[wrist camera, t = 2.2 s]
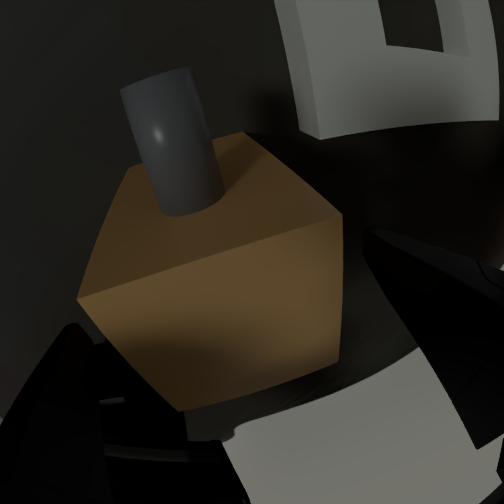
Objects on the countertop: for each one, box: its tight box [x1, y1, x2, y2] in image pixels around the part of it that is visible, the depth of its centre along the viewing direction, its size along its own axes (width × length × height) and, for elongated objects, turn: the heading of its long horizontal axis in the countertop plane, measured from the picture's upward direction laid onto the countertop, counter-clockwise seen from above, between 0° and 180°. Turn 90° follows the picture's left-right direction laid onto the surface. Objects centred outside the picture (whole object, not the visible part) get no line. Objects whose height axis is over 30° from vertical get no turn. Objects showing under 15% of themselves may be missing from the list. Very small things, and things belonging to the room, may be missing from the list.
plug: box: [77, 66, 343, 412], centre depth 8 cm, size 8×5×8 cm, turn 12°
